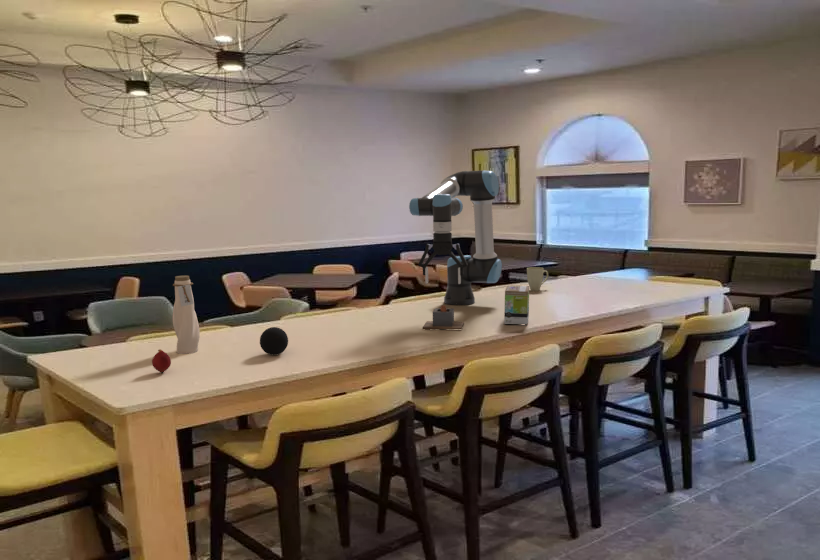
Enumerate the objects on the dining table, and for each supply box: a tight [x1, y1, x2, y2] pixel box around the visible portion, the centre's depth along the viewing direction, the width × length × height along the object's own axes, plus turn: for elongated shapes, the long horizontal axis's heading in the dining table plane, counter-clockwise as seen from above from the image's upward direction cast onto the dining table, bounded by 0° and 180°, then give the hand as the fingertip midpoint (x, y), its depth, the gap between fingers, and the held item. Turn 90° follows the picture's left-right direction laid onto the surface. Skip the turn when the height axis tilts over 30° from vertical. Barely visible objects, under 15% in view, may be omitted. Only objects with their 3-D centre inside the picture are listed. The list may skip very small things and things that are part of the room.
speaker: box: [259, 326, 289, 356], centre depth 243 cm, size 10×10×10 cm
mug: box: [526, 266, 549, 292], centre depth 366 cm, size 11×10×12 cm
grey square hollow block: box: [432, 307, 455, 327], centre depth 282 cm, size 8×8×6 cm
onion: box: [151, 348, 172, 373], centre depth 223 cm, size 6×6×8 cm
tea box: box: [503, 285, 530, 325], centre depth 289 cm, size 15×10×15 cm, turn 168°
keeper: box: [421, 304, 465, 331], centre depth 282 cm, size 12×16×9 cm
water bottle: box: [172, 275, 201, 354], centre depth 248 cm, size 10×9×28 cm
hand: (443, 283), depth 280 cm, fingers open, 13 cm apart
